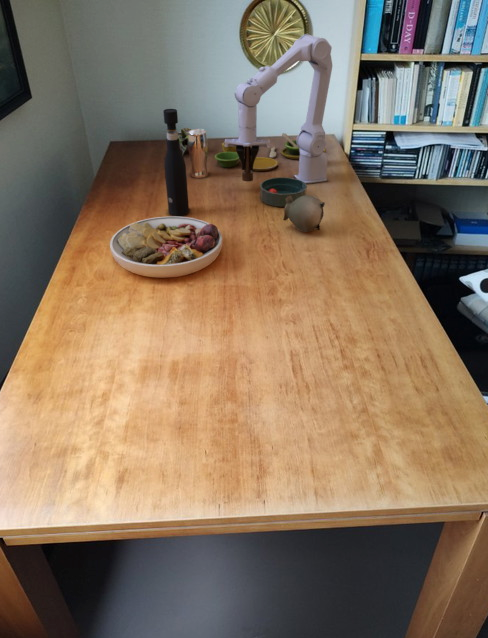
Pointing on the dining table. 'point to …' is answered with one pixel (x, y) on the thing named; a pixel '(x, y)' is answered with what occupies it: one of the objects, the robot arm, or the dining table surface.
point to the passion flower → (183, 139)
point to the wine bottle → (175, 168)
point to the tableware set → (261, 163)
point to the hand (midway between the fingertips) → (247, 169)
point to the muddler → (247, 165)
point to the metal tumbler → (198, 152)
